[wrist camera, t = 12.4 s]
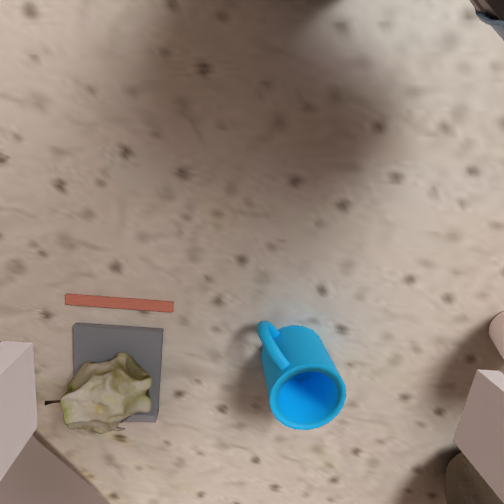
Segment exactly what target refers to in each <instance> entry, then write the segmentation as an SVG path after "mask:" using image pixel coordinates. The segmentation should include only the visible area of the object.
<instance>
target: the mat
mask: <svg viewBox="0 0 504 504" xmlns="http://www.w3.org/2000/svg"><path fill="white" fill-rule="evenodd" d="M162 342H163V329H160V328H145V327H131V326H116V325H101V324H86V323H75V325H74V326H73V349H74V376H75V374H76V373H77V372H78V371H79V369H80V368H81V366H82V365H83V364H84V363H85V362H95V363H101V362H105V361H108V360H112V359H114V358H115V356H116V355H117V353H120V352H122V353H127V354H129V355H130V356H132V358H133V359H134V360H135V361H136V362H137V364H139V365H140V366H141V367H142V368H143V369H144V370H145V371H146V372H147V373H148V374H149V375H150V376H151V378H152V385H151V387H150V388H149V394H150V399H151V402H152V408H151V411H150V412H147V413H142V412H138V413H136V414H134V415H132V416H131V417H129V418H128V419H126V420H125V421H129V422H156V419H157V415H158V410H159V393H160V376H161V359H162Z"/></svg>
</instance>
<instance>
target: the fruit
mask: <svg viewBox="0 0 504 504" xmlns="http://www.w3.org/2000/svg"><path fill="white" fill-rule="evenodd" d="M151 385H152V378H151V376H150V375H149V374H148V373H147V372H146V371H145V370H144V369H143V368H142V367H141V366H140V365H139V364H137V362H136V361H135V360H134V359H133V358H132V356H130V355H129V354H127V353H122V352H120V353H117V355H116V356H115V358H114V359H112V360H108V361H105V362H101V363H95V362H85V363H84V364H83V365H82V366H81V368H80V369H79V371H78V372H77V373H76V374H75V376H74V377H73V379H72V380H71V382H70V383H69V384H68V391H67V392H66V393H65V394H64V395H63V396H62V398H61V400H56V401H45V405H48V404H51V403H57V402H60V405H61V408H62V409H63V417H64V422H65V425H67V426H68V428H69V429H81V428H84V429H92V430H94V431H95V432H97V433H100V434H103V433H105V432H107V431H112V430H114V431H121V430H124V429H125V428H120V427H118V426H117V425H118V424H119V423H122V422H124V421H125V420H126V419H128V418H129V417H131V416H132V415H134V414H136V413H138V412H142V413H147V412H150V411H151V408H152V402H151V399H150V394H149V388H150V387H151Z"/></svg>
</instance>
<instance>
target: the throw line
mask: <svg viewBox="0 0 504 504" xmlns="http://www.w3.org/2000/svg"><path fill="white" fill-rule="evenodd" d="M173 303H174V302H169V301H156V300H143V299H130V298H117V297H104V296H91V295H78V294H65V304H67V305H81V306H94V307H108V308H122V309H135V310H149V311H163V312H173Z"/></svg>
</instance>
